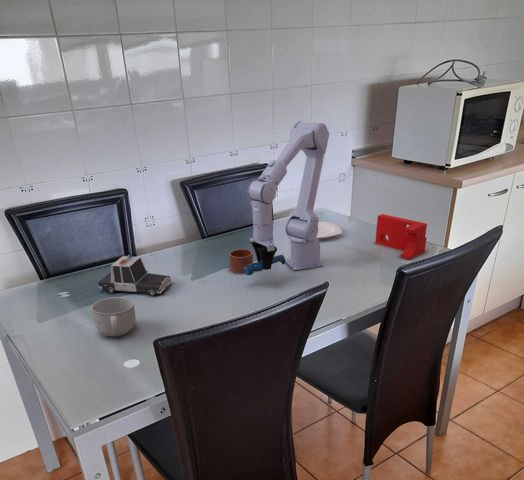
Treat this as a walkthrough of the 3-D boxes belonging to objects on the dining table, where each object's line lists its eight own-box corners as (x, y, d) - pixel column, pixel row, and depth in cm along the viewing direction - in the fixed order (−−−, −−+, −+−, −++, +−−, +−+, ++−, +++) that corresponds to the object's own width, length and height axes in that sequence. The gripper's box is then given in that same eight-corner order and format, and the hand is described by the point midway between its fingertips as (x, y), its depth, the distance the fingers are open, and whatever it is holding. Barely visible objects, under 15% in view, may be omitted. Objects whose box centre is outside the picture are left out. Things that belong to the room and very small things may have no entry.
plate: (284, 229, 202) (284, 224, 201) (330, 224, 205) (330, 219, 204) (299, 244, 186) (299, 239, 185) (348, 239, 189) (348, 233, 188)
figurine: (280, 264, 162) (242, 278, 155) (277, 252, 160) (239, 266, 153) (289, 263, 158) (250, 278, 151) (286, 252, 157) (247, 266, 149)
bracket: (428, 222, 170) (412, 230, 164) (424, 251, 176) (408, 259, 170) (383, 213, 182) (367, 219, 176) (381, 240, 187) (365, 247, 181)
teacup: (101, 322, 138) (95, 296, 134) (141, 320, 139) (136, 293, 135) (91, 348, 127) (84, 320, 122) (134, 345, 127) (129, 317, 123)
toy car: (160, 297, 151) (155, 265, 146) (98, 293, 156) (91, 262, 150) (172, 283, 160) (168, 253, 155) (113, 280, 164) (107, 251, 159)
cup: (249, 263, 172) (248, 247, 170) (256, 271, 166) (255, 255, 163) (227, 266, 170) (226, 251, 168) (234, 274, 164) (232, 258, 161)
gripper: (242, 218, 153) (245, 259, 160) (257, 231, 141) (259, 276, 148) (264, 215, 155) (266, 256, 162) (280, 228, 143) (281, 272, 150)
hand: (264, 265), depth 155 cm, fingers closed on figurine, 5 cm apart
